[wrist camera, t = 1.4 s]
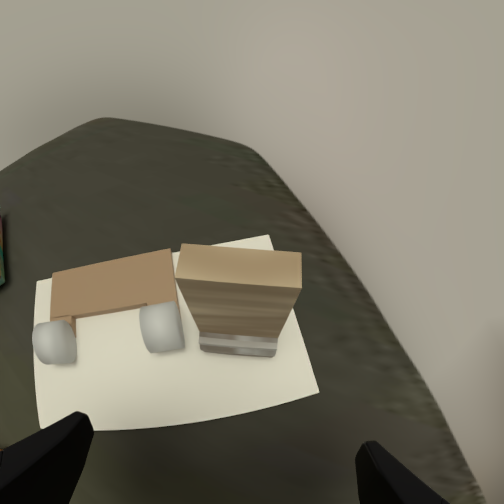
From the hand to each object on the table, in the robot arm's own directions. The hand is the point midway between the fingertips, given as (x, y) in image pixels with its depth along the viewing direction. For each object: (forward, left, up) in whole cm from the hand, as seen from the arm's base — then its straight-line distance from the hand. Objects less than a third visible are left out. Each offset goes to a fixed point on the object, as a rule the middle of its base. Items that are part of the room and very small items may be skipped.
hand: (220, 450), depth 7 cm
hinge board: (-3, +9, -13) cm, 16 cm away
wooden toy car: (+3, +6, -12) cm, 14 cm away
